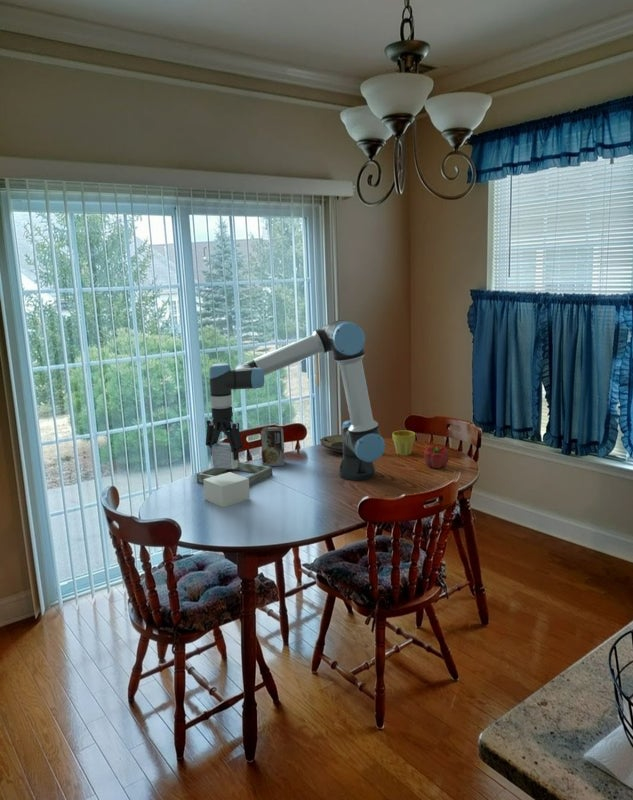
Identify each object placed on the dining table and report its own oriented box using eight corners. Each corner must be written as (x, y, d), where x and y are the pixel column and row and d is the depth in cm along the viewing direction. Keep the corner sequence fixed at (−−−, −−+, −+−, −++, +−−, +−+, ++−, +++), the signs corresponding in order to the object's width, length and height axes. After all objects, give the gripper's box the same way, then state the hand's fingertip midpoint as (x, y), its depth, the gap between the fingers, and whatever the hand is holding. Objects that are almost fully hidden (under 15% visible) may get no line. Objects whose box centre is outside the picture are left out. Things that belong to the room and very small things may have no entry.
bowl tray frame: (272, 475, 252) (272, 467, 252) (239, 490, 235) (239, 482, 234) (231, 467, 264) (231, 460, 264) (197, 481, 247) (196, 473, 246)
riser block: (249, 499, 226) (248, 478, 224) (223, 507, 218) (221, 486, 216) (230, 491, 234) (229, 471, 233) (204, 499, 226) (203, 479, 225)
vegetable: (449, 471, 250) (449, 448, 248) (424, 471, 252) (424, 448, 250) (448, 464, 261) (448, 441, 259) (423, 463, 263) (423, 441, 261)
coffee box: (285, 461, 271) (283, 426, 268) (282, 466, 265) (281, 430, 261) (265, 461, 272) (263, 426, 269) (262, 466, 265) (260, 430, 262)
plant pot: (409, 457, 271) (409, 436, 269) (388, 454, 277) (388, 434, 275) (418, 452, 280) (418, 431, 278) (398, 449, 285) (398, 429, 284)
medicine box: (237, 465, 224) (236, 443, 223) (232, 469, 220) (230, 446, 219) (218, 464, 227) (217, 442, 225) (212, 467, 223) (211, 445, 221)
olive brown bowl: (344, 441, 302) (343, 426, 301) (388, 453, 280) (388, 437, 278) (310, 450, 288) (309, 435, 286) (354, 463, 265) (353, 446, 264)
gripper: (251, 407, 217) (254, 467, 221) (207, 402, 228) (210, 459, 232) (237, 411, 210) (240, 473, 215) (192, 405, 222) (196, 464, 226)
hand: (225, 466), depth 224 cm, fingers closed on medicine box, 8 cm apart
